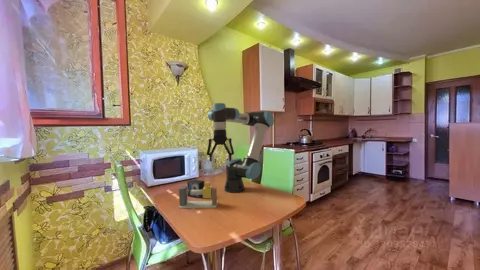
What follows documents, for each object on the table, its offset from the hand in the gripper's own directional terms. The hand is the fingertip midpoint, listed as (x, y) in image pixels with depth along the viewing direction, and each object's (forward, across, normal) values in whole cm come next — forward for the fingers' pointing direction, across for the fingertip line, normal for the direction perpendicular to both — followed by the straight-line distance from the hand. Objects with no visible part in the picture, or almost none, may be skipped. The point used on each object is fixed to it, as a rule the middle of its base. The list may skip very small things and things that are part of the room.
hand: (220, 166), depth 123 cm
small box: (+24, +20, -17) cm, 35 cm away
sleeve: (+18, +8, 0) cm, 20 cm away
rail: (+23, +14, 0) cm, 27 cm away
